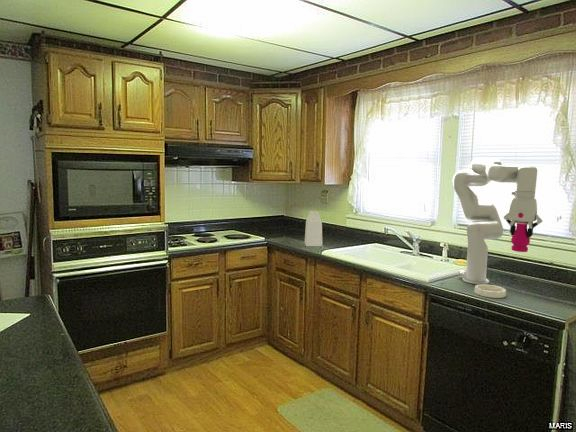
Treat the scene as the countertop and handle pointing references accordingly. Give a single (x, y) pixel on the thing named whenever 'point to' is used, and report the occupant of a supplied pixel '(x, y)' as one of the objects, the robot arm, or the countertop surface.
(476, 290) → the ring holder
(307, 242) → the milk
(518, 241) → the pepper mill
